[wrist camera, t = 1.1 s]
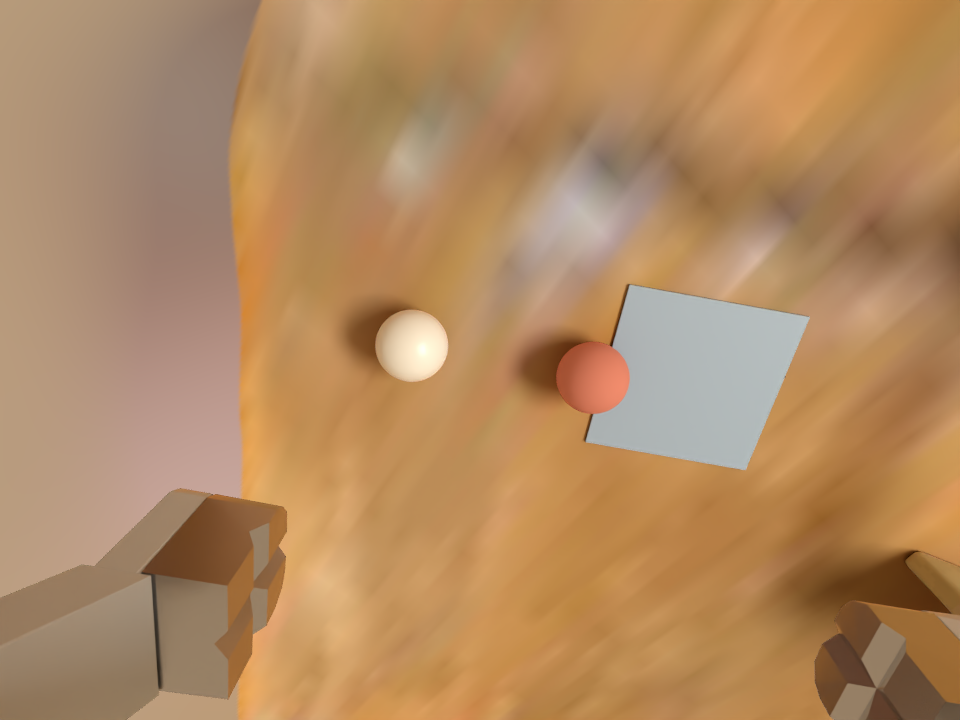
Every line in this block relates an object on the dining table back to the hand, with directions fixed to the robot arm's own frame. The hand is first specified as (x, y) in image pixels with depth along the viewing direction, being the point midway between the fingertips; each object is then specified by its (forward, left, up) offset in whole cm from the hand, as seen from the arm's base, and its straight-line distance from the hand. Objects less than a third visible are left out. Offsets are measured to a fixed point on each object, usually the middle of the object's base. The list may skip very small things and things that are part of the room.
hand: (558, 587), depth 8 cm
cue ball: (+10, -6, -32) cm, 34 cm away
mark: (+10, +16, -35) cm, 40 cm away
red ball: (+10, +8, -32) cm, 35 cm away
